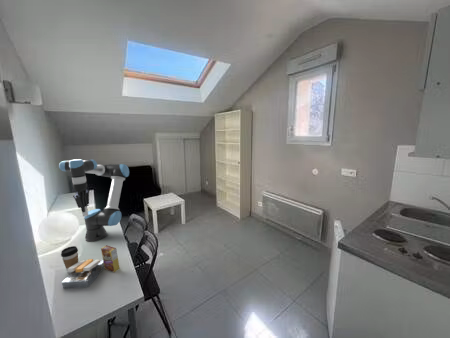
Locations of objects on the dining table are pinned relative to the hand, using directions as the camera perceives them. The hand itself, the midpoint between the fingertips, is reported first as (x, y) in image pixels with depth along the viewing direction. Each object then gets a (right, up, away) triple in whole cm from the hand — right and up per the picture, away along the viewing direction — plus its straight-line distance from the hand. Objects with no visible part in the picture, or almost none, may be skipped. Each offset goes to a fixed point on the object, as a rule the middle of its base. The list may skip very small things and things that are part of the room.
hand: (85, 215), depth 132 cm
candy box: (+23, -33, -9) cm, 41 cm away
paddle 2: (+15, -27, -15) cm, 34 cm away
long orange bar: (+10, -27, -15) cm, 32 cm away
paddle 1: (+6, -27, -15) cm, 31 cm away
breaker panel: (+11, -34, -14) cm, 38 cm away
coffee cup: (-2, -33, -9) cm, 34 cm away
